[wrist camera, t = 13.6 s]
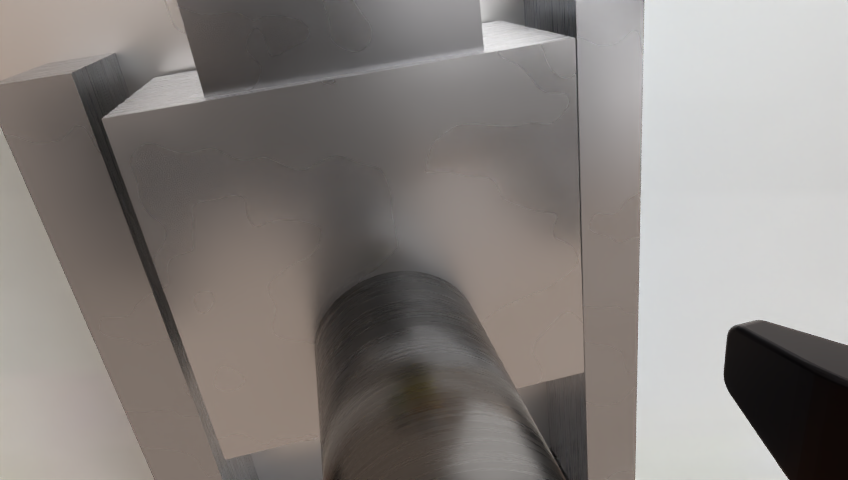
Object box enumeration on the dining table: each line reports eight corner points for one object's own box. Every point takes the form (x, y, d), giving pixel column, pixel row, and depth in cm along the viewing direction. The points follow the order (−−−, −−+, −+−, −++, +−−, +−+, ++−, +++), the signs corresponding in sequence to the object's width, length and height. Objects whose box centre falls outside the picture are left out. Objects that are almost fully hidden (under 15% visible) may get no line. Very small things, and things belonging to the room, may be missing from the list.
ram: (486, -159, 11) (874, -420, 4) (520, 285, 14) (741, 585, 7) (95, -110, 10) (-405, -320, 3) (239, 347, 14) (185, 752, 7)
